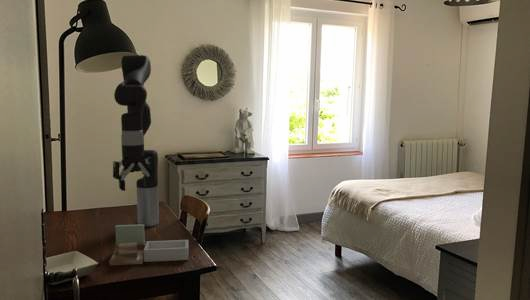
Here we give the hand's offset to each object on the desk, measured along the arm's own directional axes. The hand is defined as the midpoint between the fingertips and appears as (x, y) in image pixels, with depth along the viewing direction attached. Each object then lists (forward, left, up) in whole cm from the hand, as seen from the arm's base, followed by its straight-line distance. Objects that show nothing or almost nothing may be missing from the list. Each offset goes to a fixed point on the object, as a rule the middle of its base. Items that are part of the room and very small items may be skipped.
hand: (134, 188), depth 165 cm
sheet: (-5, -3, -24) cm, 25 cm away
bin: (0, +11, -25) cm, 28 cm away
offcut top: (+5, -2, -21) cm, 22 cm away
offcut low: (+5, -3, -24) cm, 24 cm away
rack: (0, -3, -25) cm, 25 cm away
